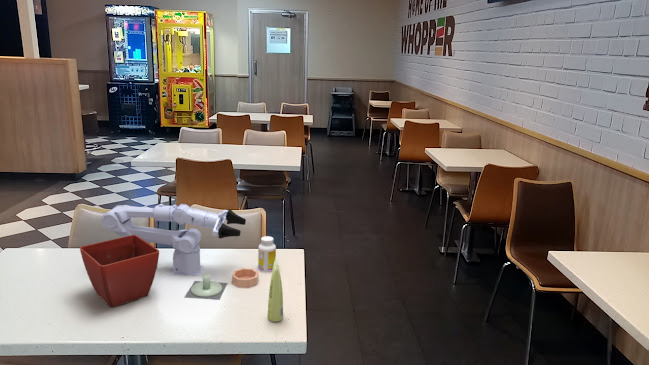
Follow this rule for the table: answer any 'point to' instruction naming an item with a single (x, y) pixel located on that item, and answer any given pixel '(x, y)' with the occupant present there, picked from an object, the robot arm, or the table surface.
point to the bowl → (245, 278)
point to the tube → (275, 295)
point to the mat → (216, 297)
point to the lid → (206, 288)
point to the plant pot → (121, 268)
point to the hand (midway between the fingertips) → (242, 227)
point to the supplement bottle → (266, 254)
